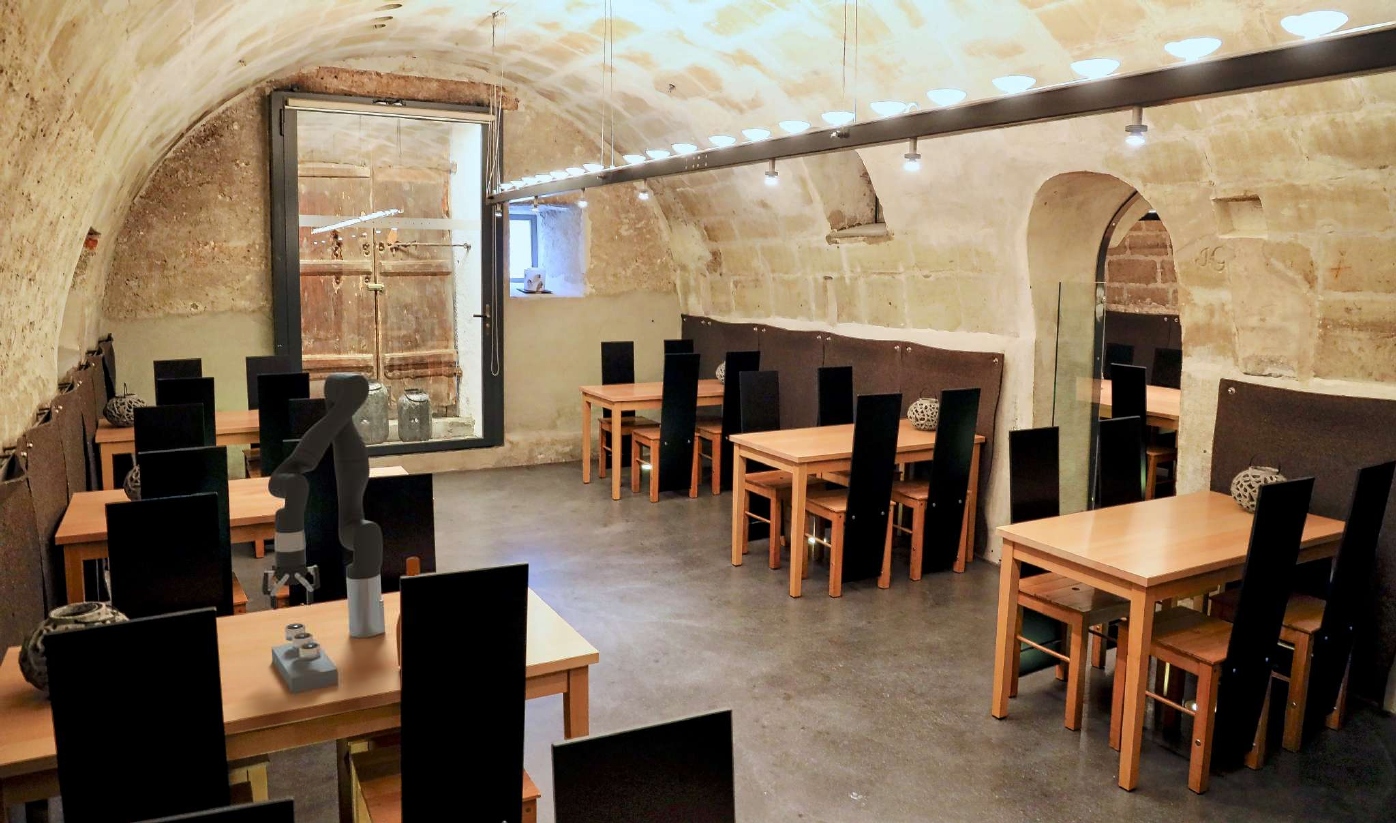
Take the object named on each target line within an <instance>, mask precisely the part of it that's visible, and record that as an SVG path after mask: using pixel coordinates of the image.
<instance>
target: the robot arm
mask: <svg viewBox="0 0 1396 823" xmlns="http://www.w3.org/2000/svg"><path fill="white" fill-rule="evenodd" d="M369 394H370V384H369V381H368V380H367V378H366V377H365V376H364V375H362V374H358V373H349V372H332V373H330V374H329V375H328V376H327V377H326V379H325V381H324V386H323V396H324V401H325V402H324V403H325V406H326V411H327V413H326V414H325V416H323V417H322V418H321V419H320V420H319V421H318V422H316V423H315V424H313V426H311V427H310V428H309V429H308V430H307V431H306V432H305V433H304V434H303V436H302V437H301V439H300V440H299V442H298V444H296V447H295V448H294V450H293V452H292V453H291V454H290V456H289V457H287V458H286V459H285V460H284V461H283V462H281V464H280V465H278V466H277V468H275V470H274V471H273V472H272V473H271V475H270V478H269V479H268V483H267V488H268V489H267V490H268V492H269V493H270V495H271V496H273V497H274V498H279V499H284V500H285V504H284V506H283V507H280V508H278V509H277V510H276V511H275V513H274V514H275V515H274V527H275V528H274V530H275V533H274V534H275V535H274V566H275V568H274V570H269V571H268V570H266V569H264V570H263V571H262V573H261V574H262V577H261V592H262V595H264V596H269V605H270V608H272V609H273V611H276V610H277V607H278V606H277V595H276V594H277V593H278V591H279V590H280V589H282V587H283V586H284V587H289V586H291V585H293V586H297V585H299V584H302V586H303V587H305V589H306V605H307V606H311V605H312V604H313V603H314V591H315V590H317V589H320V588H321V578H320V568H319V567H318V565H317V564H314V565H313V566H307V563H306V562H307V558H306V557H307V556H306V545H307V542H306V534H305V523H304V522H305V519H304V515H305V514H304V513H305V510H306V506H307V503H308V497H309V494H310V493H309V492H310V485H309V481H308V480H307V478H306V477H305V475H303V474H304V473H307V472H311V471H314V470H315V469H316V468H317V466H318V464H319V463H320V461H321V459H323V456H324V454H325V453H326V452H327V449H328V448H329V447H330V445H331V444H332V448H333V450H332V451H333V462H334V463H333V464H334V472H335V478H336V479H335V480H336V488H337V489H336V490H337V501H338V538H339V542H340V544H341V545H342V546H343V547H344V548H345V549H346V550H349V551H353V552H352V553H353V558H352V560H353V562H352V563H350V564H348V565H347V566H346V568H345V575H346V578H345V579H346V591H347V592H346V593H347V594H346V595H347V609H348V610H347V611H348V614H347V615H348V632H349V636H350V637H353V638H356V639H357V638H358V639H361V638H363V639H364V638H371V637H372V638H373V637H376V636H378V635H380V634H383V633H386V625H385V624H386V622H385V621H386V620H385V600H384V599H383V598H382V585H381V584H382V583H381V582H382V581H381V568H382V567H381V566H382V564H383V555H384V554H383V553H384V552H383V551H384V549H383V546H384V544H383V543H384V542H383V541H384V540H383V533H382V530H381V527H380V526H379V524H378V523H376V522H374V521H371V520H366V518H365V513H364V505H363V498H364V494H365V490H366V488H367V485H368V482H369V478H370V473H371V468H370V460H369V452H368V448H367V446H366V443H365V441H364V439H363V438H362V436H361V435H360V432H359V431H358V429H357V428H356V425H355V424H354V420H353V416H354V415H356V413H357V411H359V409H361V407H362V406H363V405H364V403H366V400H367V398H368V397H369ZM308 573H310V574H311V575H312V576H313V584H310V583H309V582H308V580H307V579H306V578H305V577H306V576H307V574H308ZM273 576H274V577H275V578H276V580H275V581H274V583H273V585H272V587H271V588H270V589H269V580H272V577H273Z"/></svg>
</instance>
